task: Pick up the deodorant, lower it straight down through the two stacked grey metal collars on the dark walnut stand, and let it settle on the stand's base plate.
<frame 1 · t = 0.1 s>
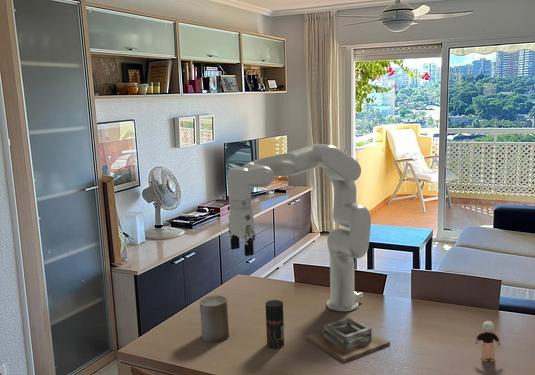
hand: (242, 252, 181), 31 cm above the table, tool pointing down, fingers open, 9 cm apart
deodorant: (275, 345, 179), on the table
collar stand: (347, 342, 179), on the table
pillar candle: (215, 337, 187), on the table
grandmother figurine: (486, 360, 165), on the table
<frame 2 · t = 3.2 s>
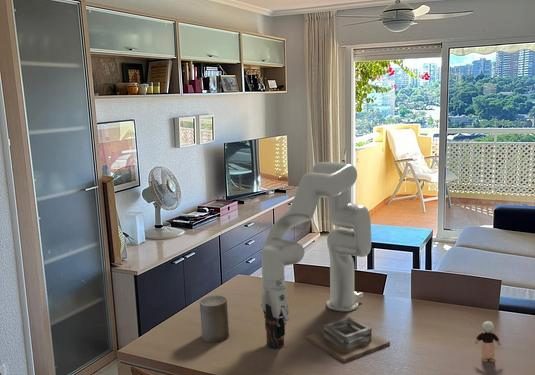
hand: (275, 332, 178), 5 cm above the table, tool pointing down, fingers closed on deodorant, 5 cm apart
deodorant: (275, 345, 179), on the table, touching gripper
everything else where it was.
when the fingers open (8 cm above the table, at t = 10.2 s): deodorant drops 2 cm, resting on collar stand.
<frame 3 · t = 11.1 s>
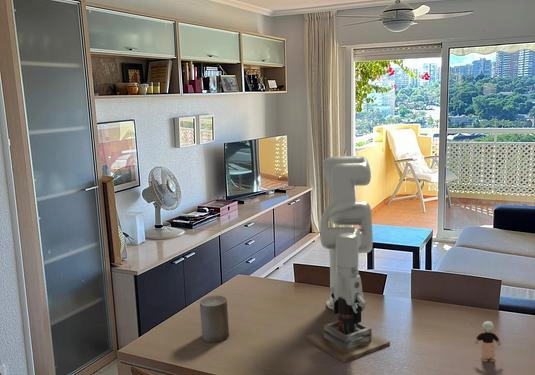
hand: (347, 317, 178), 9 cm above the table, tool pointing down, fingers open, 9 cm apart
deodorant: (347, 339, 179), point 1 cm above the table, touching collar stand
everything else where it was.
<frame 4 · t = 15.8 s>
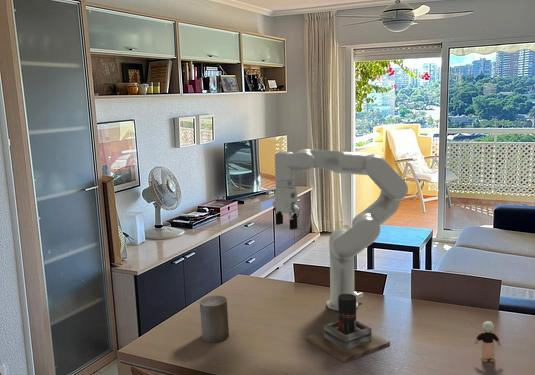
hand: (286, 226, 205), 33 cm above the table, tool pointing down, fingers open, 9 cm apart
nothing on the table moved.
at the end: deodorant 0.2 cm off-centre on the collar stand, point 1.0 cm above the collar stand's base; deodorant tilted 0°; the gripper is holding nothing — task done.
